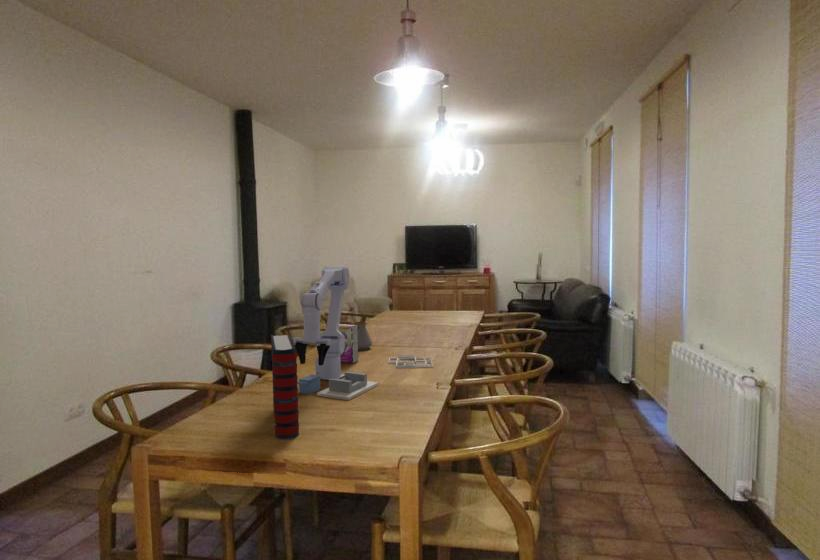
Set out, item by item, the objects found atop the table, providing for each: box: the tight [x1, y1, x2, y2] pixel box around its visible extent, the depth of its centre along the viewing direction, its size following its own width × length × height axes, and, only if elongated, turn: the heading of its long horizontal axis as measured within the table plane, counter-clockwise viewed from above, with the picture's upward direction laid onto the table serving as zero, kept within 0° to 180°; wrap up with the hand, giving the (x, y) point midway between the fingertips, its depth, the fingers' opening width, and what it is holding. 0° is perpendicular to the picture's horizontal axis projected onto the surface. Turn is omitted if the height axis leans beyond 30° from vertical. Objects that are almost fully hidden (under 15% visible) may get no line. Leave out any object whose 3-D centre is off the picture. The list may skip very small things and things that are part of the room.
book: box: [270, 333, 300, 440], centre depth 156 cm, size 25×7×25 cm, turn 16°
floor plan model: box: [388, 354, 434, 369], centre depth 231 cm, size 19×25×2 cm
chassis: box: [316, 371, 379, 401], centre depth 191 cm, size 13×20×5 cm, turn 154°
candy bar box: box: [339, 323, 359, 364], centre depth 234 cm, size 11×5×16 cm, turn 65°
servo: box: [297, 373, 322, 395], centre depth 191 cm, size 4×10×6 cm, turn 154°
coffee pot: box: [352, 321, 373, 351], centre depth 257 cm, size 21×12×15 cm, turn 178°
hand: (311, 364), depth 190 cm, fingers open, 7 cm apart
